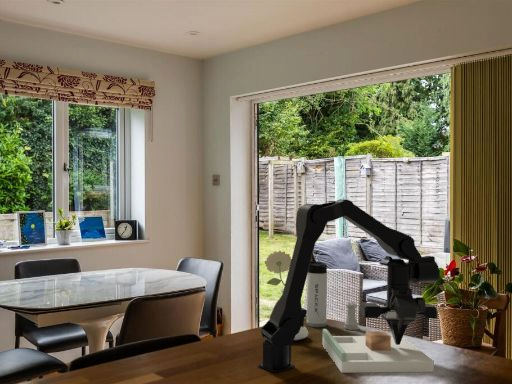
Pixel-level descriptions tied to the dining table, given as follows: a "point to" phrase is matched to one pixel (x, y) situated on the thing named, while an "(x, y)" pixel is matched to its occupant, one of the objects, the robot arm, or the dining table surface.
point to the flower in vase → (281, 264)
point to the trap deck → (374, 355)
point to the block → (378, 340)
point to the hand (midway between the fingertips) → (397, 344)
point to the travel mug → (316, 294)
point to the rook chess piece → (351, 317)
